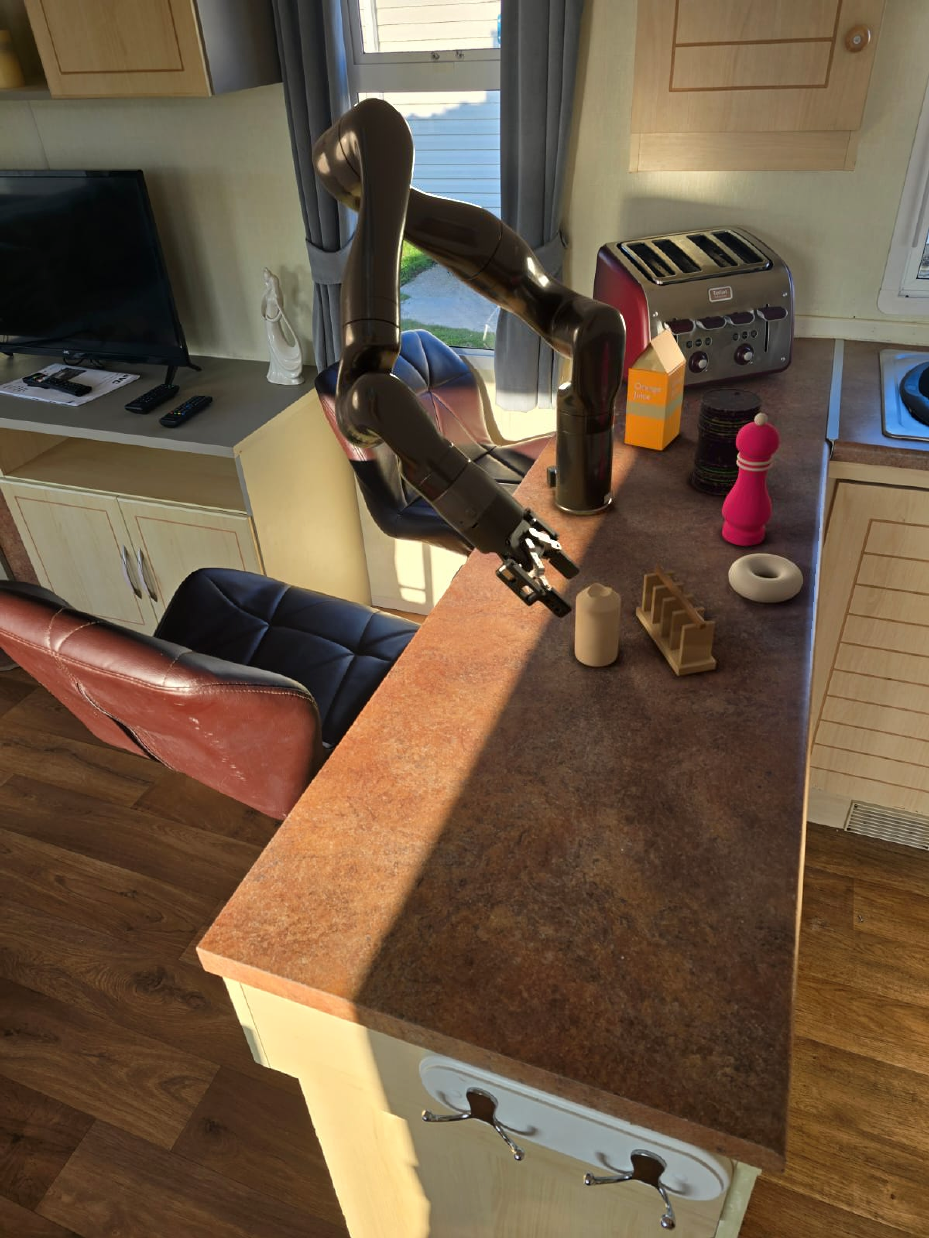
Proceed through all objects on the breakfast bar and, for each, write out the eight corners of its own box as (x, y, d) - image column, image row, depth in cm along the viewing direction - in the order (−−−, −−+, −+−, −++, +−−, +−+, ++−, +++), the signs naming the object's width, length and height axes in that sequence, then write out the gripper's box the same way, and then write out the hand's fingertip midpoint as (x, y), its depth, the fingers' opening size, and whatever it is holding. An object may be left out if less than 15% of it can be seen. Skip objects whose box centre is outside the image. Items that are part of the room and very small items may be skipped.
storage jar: (739, 499, 142) (752, 414, 133) (682, 488, 147) (691, 404, 138) (757, 476, 149) (770, 393, 140) (702, 465, 153) (712, 384, 145)
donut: (799, 613, 115) (801, 573, 123) (804, 592, 113) (806, 553, 121) (723, 602, 118) (730, 564, 126) (726, 582, 116) (733, 544, 124)
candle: (571, 643, 112) (572, 579, 107) (612, 639, 113) (616, 575, 107) (579, 669, 108) (581, 604, 102) (622, 665, 108) (626, 600, 102)
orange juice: (679, 433, 165) (689, 329, 153) (662, 450, 159) (671, 343, 148) (641, 426, 169) (648, 324, 157) (623, 443, 163) (629, 338, 151)
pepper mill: (769, 549, 129) (791, 424, 117) (719, 546, 130) (736, 422, 119) (765, 525, 135) (786, 404, 123) (718, 523, 136) (734, 403, 124)
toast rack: (635, 614, 117) (639, 567, 113) (670, 608, 118) (674, 562, 113) (677, 676, 106) (683, 627, 101) (715, 669, 107) (722, 620, 102)
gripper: (469, 497, 109) (557, 579, 114) (442, 554, 98) (541, 642, 102) (508, 461, 105) (598, 547, 109) (485, 516, 94) (587, 610, 98)
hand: (571, 593), depth 106 cm, fingers open, 8 cm apart
